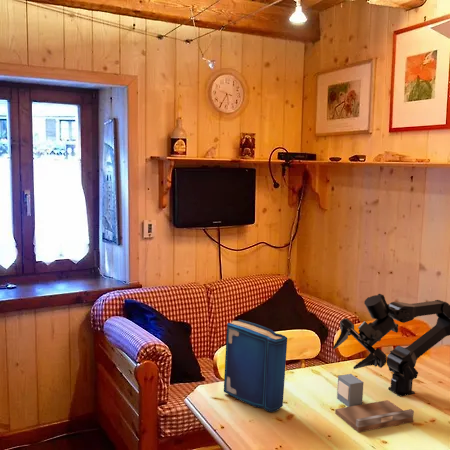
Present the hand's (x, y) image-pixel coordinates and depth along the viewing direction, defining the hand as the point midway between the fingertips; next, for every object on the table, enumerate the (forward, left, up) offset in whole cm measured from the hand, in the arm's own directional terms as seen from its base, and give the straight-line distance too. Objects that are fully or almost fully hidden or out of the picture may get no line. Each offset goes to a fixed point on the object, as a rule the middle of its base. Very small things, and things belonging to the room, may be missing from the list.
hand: (343, 358), depth 169 cm
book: (+27, -9, -15) cm, 33 cm away
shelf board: (-4, +12, -15) cm, 20 cm away
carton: (-3, +1, -15) cm, 15 cm away
